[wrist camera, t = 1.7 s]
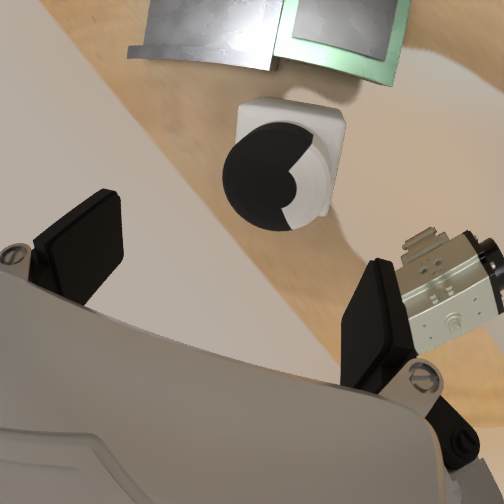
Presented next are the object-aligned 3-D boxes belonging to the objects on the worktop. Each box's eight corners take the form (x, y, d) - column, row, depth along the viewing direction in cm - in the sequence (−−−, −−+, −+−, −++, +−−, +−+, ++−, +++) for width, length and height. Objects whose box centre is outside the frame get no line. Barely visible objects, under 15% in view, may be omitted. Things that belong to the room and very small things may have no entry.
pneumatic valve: (475, 235, 26) (523, 313, 16) (385, 285, 32) (398, 374, 22) (458, 192, 24) (515, 263, 14) (361, 249, 30) (371, 338, 20)
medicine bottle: (251, 170, 28) (206, 232, 19) (258, 95, 24) (212, 113, 15) (327, 184, 27) (325, 257, 18) (341, 109, 23) (354, 135, 14)
